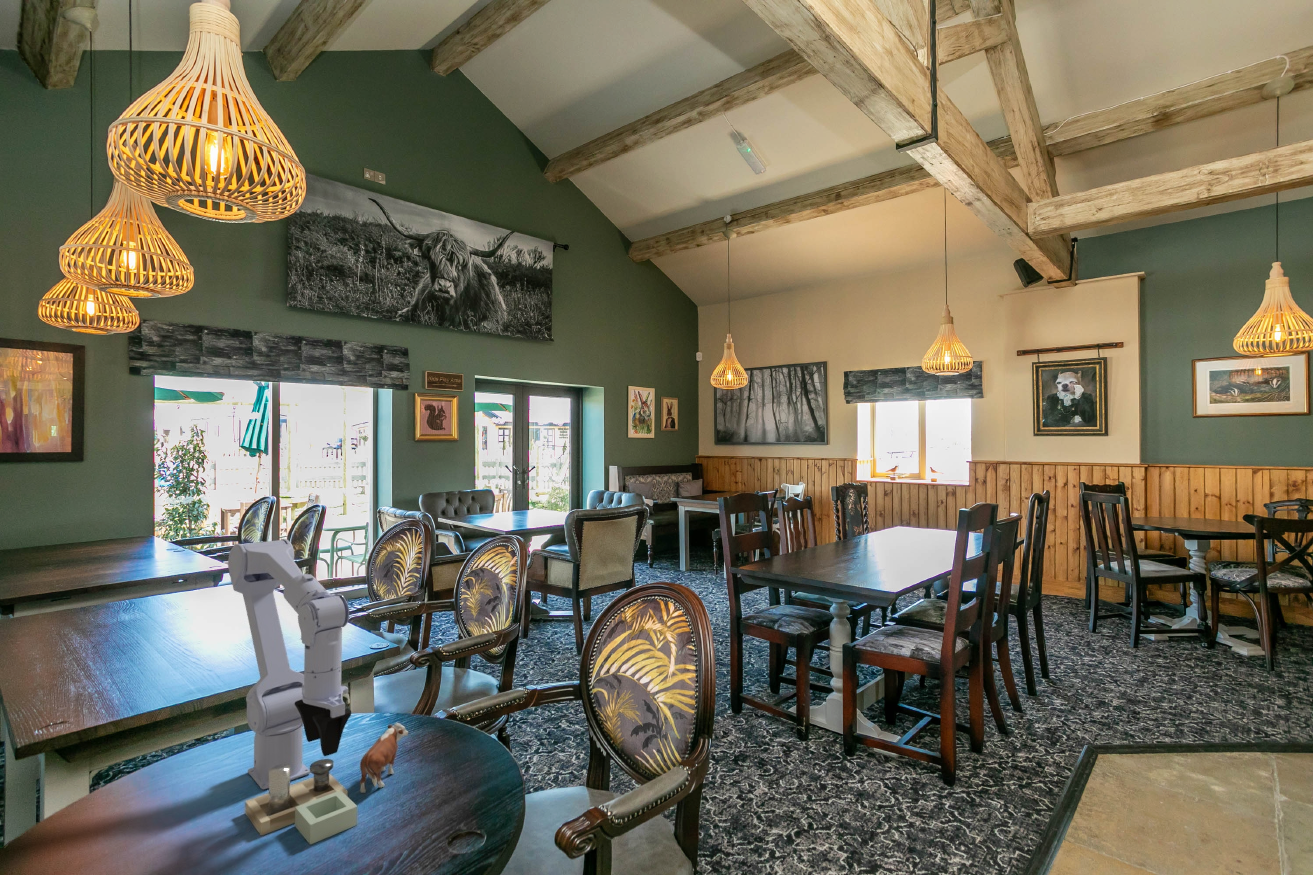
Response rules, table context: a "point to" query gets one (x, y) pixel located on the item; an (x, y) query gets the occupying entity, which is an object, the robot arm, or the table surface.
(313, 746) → the table surface
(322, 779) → the round dark knob
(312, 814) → the grey-green hollow square block
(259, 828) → the socket block
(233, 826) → the table surface
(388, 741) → the bull figurine
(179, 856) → the table surface
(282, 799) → the silver metal cylinder
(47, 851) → the table surface
